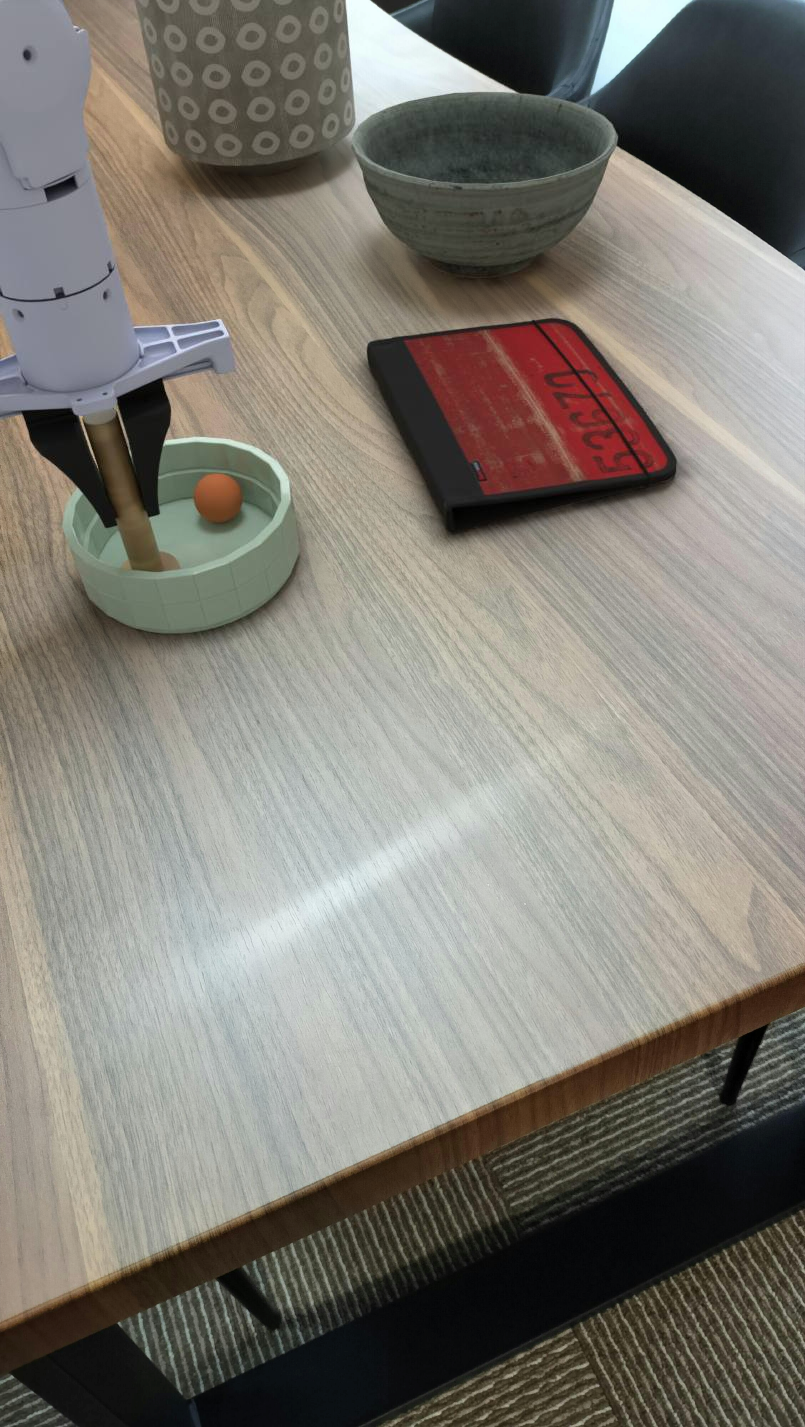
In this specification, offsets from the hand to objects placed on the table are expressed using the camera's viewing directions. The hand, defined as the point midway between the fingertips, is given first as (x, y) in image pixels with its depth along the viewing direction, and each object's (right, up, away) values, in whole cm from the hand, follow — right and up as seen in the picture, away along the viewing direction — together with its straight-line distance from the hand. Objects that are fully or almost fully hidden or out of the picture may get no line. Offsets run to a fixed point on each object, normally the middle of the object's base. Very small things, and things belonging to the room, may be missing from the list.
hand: (129, 511), depth 57 cm
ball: (+4, +2, +7) cm, 8 cm away
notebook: (+23, +9, +14) cm, 28 cm away
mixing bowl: (+2, -2, +6) cm, 7 cm away
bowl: (+22, +28, +31) cm, 47 cm away
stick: (0, -3, +4) cm, 5 cm away
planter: (+1, +45, +47) cm, 65 cm away
